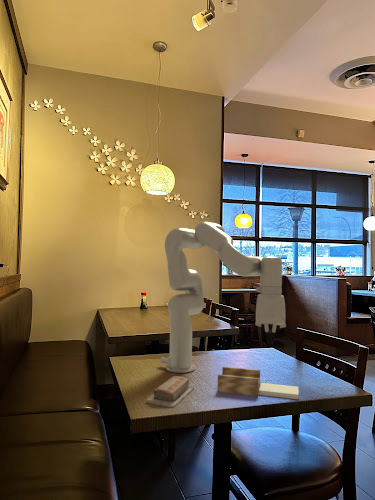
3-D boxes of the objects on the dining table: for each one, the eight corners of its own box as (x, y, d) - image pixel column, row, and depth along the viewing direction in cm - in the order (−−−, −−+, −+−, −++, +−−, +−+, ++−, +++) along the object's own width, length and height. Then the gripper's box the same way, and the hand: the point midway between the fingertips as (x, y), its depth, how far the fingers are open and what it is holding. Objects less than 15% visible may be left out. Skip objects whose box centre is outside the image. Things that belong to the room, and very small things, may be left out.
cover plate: (259, 396, 122) (259, 390, 122) (261, 388, 130) (261, 382, 130) (298, 400, 118) (298, 394, 118) (298, 392, 126) (298, 386, 126)
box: (217, 391, 124) (217, 375, 124) (222, 381, 135) (222, 366, 135) (258, 396, 120) (258, 379, 121) (260, 385, 131) (260, 370, 131)
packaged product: (168, 373, 130) (194, 376, 126) (168, 386, 130) (194, 390, 126) (145, 388, 113) (174, 393, 110) (145, 404, 113) (174, 409, 109)
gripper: (248, 291, 125) (248, 343, 124) (292, 292, 121) (292, 347, 120) (250, 289, 132) (249, 339, 131) (292, 291, 128) (291, 342, 127)
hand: (270, 343), depth 126 cm, fingers closed
